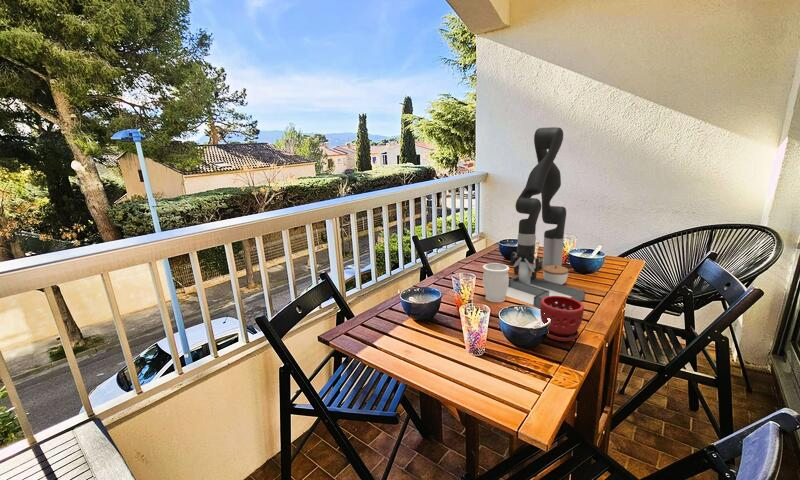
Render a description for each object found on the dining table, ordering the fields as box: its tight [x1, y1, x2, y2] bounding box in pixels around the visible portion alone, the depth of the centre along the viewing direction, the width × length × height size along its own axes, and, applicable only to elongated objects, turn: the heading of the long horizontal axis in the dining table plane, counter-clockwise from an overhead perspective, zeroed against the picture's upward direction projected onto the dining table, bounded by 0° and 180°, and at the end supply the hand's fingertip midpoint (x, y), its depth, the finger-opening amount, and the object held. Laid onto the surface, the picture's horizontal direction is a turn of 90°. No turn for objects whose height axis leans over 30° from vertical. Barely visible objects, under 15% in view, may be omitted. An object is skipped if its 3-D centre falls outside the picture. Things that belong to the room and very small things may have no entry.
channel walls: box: [508, 275, 586, 310], centre depth 146 cm, size 20×29×4 cm
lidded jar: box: [542, 265, 569, 285], centre depth 159 cm, size 11×11×9 cm
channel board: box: [505, 284, 584, 308], centre depth 146 cm, size 20×29×1 cm
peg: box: [518, 261, 532, 285], centre depth 155 cm, size 5×5×12 cm
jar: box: [482, 262, 510, 303], centre depth 144 cm, size 11×10×15 cm
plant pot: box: [539, 296, 585, 342], centre depth 116 cm, size 13×13×12 cm
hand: (524, 276), depth 156 cm, fingers open, 8 cm apart
